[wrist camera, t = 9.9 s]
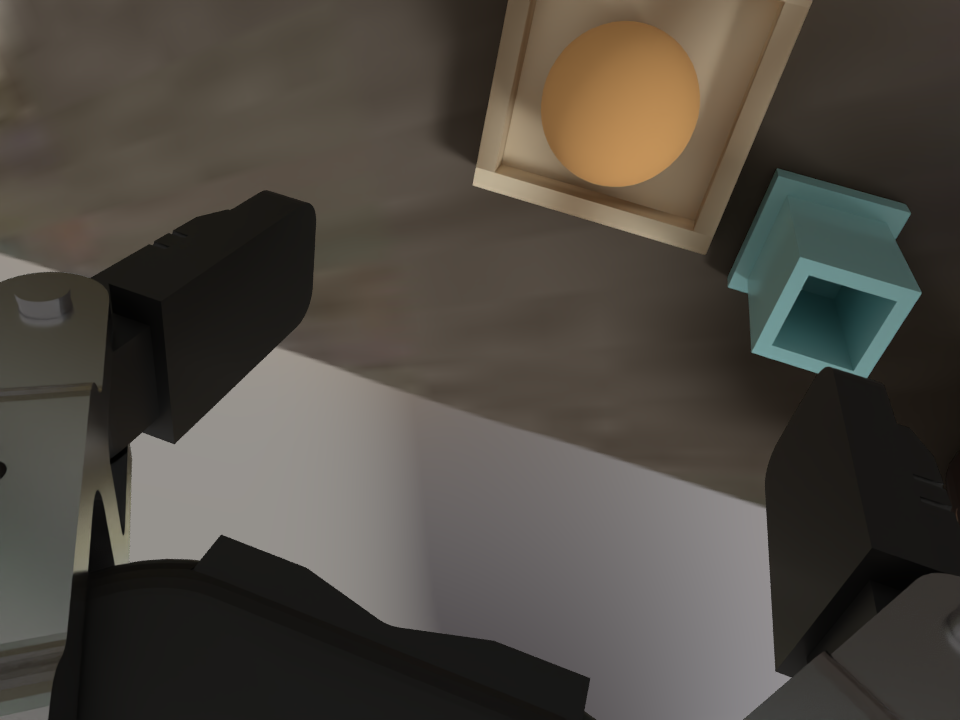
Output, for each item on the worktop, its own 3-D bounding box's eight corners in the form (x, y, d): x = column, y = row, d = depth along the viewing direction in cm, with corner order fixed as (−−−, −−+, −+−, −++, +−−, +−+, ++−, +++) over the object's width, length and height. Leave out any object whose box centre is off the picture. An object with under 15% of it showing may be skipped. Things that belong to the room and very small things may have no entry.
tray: (814, -24, 24) (821, -19, 23) (706, 236, 30) (705, 255, 28) (538, -91, 26) (525, -91, 24) (485, 171, 31) (472, 185, 30)
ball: (726, 33, 25) (724, 59, 21) (673, 178, 28) (662, 228, 24) (578, -5, 26) (547, 12, 22) (543, 140, 29) (509, 182, 25)
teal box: (905, 204, 27) (952, 281, 22) (843, 312, 30) (870, 406, 24) (776, 168, 28) (789, 234, 22) (727, 277, 31) (727, 360, 25)
